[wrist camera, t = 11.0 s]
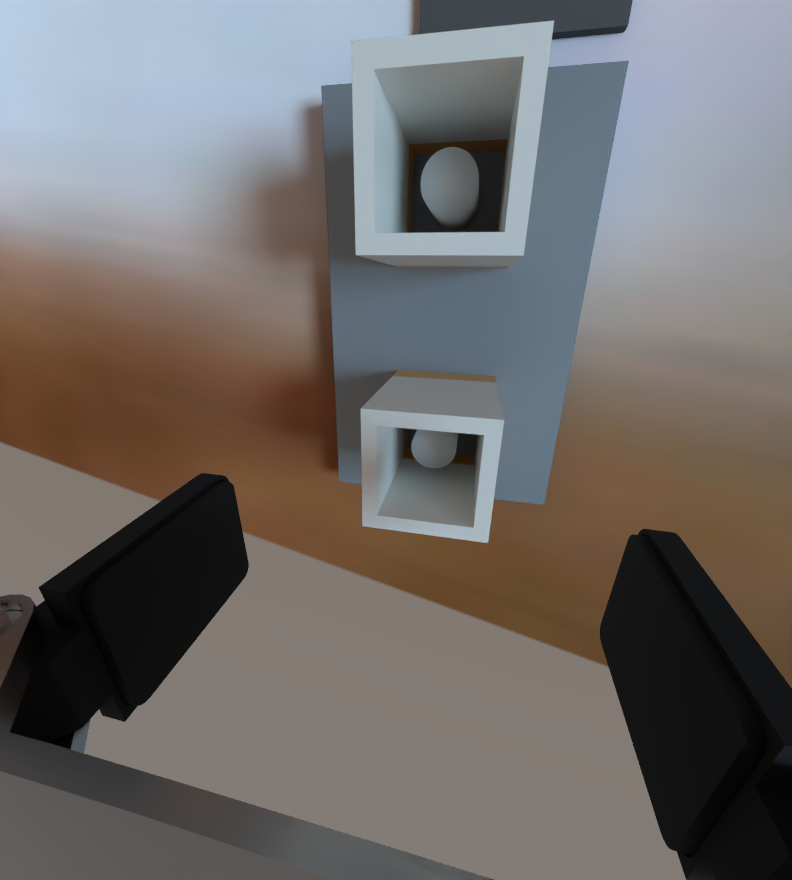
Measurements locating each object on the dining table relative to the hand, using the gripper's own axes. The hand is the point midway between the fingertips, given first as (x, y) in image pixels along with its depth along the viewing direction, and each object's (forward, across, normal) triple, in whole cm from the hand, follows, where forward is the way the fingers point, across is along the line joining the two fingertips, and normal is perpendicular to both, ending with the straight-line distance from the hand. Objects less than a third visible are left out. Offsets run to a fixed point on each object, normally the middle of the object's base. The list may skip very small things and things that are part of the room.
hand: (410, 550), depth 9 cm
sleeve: (+12, 0, +1) cm, 12 cm away
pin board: (+14, 0, -4) cm, 14 cm away
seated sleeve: (+12, 0, -9) cm, 15 cm away
